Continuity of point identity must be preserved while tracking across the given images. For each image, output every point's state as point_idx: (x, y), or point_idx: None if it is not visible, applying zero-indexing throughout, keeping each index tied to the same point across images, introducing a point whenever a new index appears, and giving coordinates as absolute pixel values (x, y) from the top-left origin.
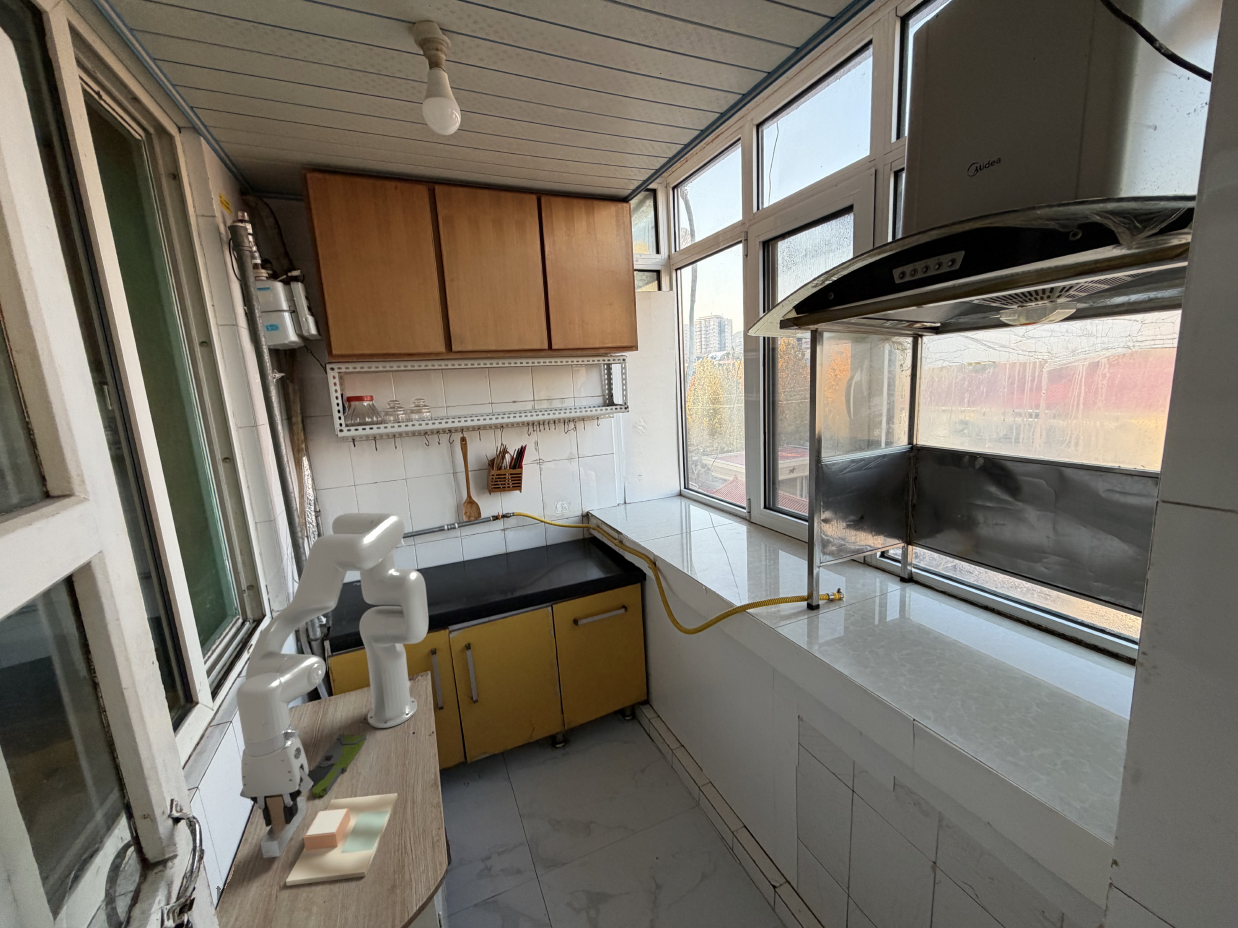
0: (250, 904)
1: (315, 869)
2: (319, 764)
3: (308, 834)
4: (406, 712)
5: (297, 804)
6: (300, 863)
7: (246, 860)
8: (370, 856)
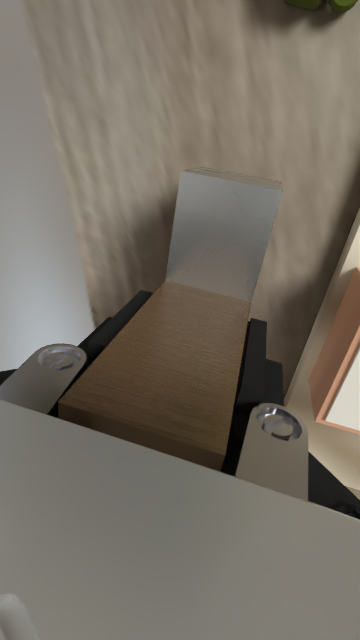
0: None
1: (354, 463)
2: None
3: (336, 421)
4: None
5: (282, 383)
6: None
7: (110, 313)
8: None
